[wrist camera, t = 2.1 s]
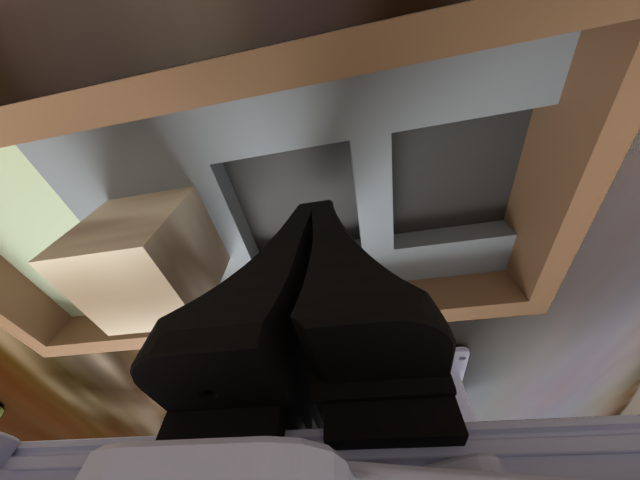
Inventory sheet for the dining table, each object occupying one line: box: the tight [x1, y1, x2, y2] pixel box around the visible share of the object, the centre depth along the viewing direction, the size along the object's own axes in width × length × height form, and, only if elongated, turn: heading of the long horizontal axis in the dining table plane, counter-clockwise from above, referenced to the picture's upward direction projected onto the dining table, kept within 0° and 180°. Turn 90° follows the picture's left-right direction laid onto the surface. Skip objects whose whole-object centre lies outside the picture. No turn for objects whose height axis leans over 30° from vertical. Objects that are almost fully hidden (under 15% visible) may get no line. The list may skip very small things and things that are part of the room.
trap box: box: [0, 0, 640, 357], centre depth 12 cm, size 12×27×4 cm, turn 100°
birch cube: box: [28, 186, 230, 336], centre depth 11 cm, size 4×4×4 cm
